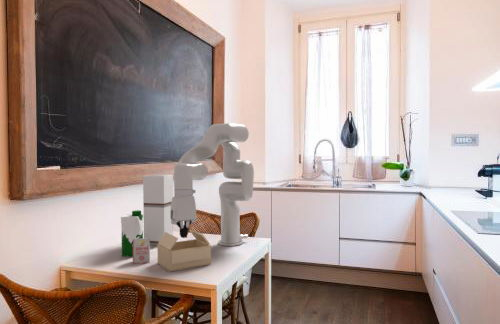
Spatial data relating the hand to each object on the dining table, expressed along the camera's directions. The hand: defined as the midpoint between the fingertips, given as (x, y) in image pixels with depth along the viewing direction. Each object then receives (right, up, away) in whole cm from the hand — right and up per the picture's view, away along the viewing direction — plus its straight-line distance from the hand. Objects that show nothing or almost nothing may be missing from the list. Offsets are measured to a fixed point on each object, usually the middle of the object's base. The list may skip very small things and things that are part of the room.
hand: (183, 237), depth 160 cm
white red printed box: (-19, -12, +4) cm, 22 cm away
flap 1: (-8, -3, -5) cm, 9 cm away
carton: (0, -11, 0) cm, 11 cm away
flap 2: (+8, -3, +5) cm, 10 cm away
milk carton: (-26, -11, +16) cm, 33 cm away
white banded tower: (-20, -11, +39) cm, 45 cm away
